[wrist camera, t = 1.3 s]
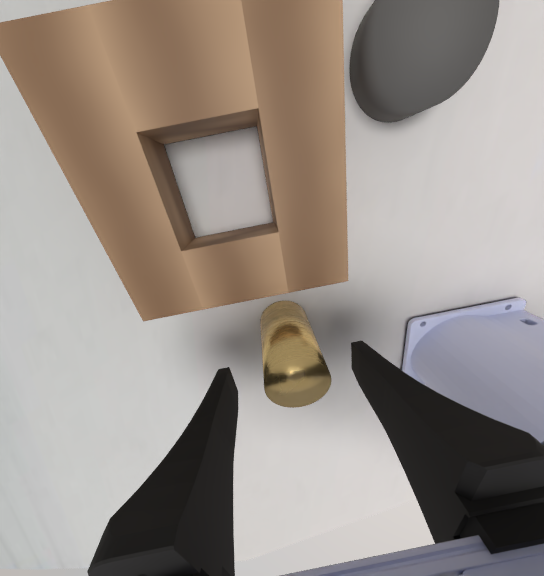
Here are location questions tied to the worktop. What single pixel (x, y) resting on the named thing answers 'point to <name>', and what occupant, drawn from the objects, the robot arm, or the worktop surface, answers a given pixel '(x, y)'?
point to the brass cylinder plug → (291, 357)
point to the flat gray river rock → (417, 53)
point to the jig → (194, 136)
